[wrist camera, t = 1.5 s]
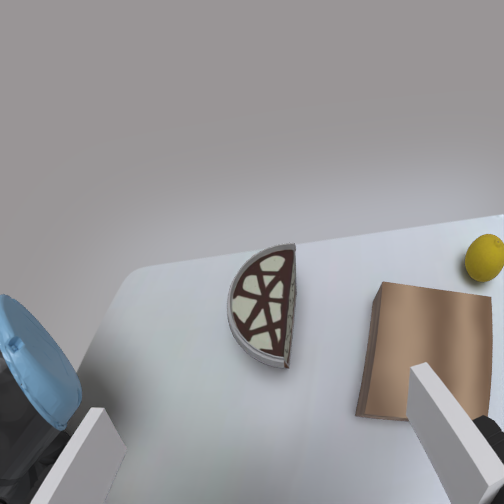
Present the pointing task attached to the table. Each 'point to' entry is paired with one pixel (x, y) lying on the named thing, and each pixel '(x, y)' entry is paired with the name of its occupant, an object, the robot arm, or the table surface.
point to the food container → (265, 305)
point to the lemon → (485, 258)
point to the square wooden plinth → (426, 348)
